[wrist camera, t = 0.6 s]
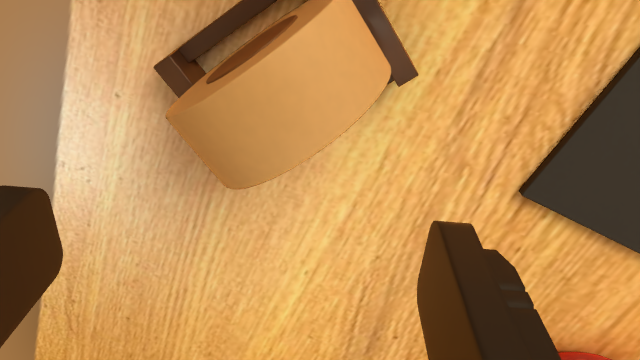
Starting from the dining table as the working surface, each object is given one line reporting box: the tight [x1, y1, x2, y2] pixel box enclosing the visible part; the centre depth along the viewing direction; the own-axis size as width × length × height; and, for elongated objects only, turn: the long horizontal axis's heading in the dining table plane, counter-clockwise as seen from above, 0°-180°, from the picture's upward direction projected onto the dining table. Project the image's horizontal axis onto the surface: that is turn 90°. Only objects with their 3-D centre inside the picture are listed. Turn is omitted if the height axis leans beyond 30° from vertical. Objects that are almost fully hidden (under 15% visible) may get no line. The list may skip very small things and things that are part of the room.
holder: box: [154, 0, 418, 98], centre depth 25 cm, size 8×12×2 cm
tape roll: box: [165, 0, 391, 189], centre depth 22 cm, size 4×10×10 cm, turn 123°
